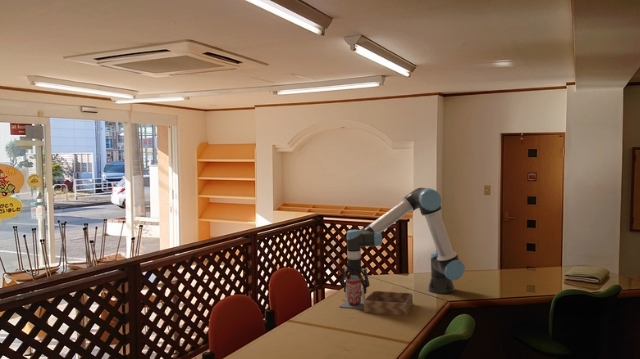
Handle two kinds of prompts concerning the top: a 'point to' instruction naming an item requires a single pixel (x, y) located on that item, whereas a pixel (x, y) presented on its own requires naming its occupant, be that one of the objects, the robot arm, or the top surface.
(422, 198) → the robot arm
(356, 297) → the mug
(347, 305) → the mat
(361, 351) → the top surface
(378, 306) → the crate
